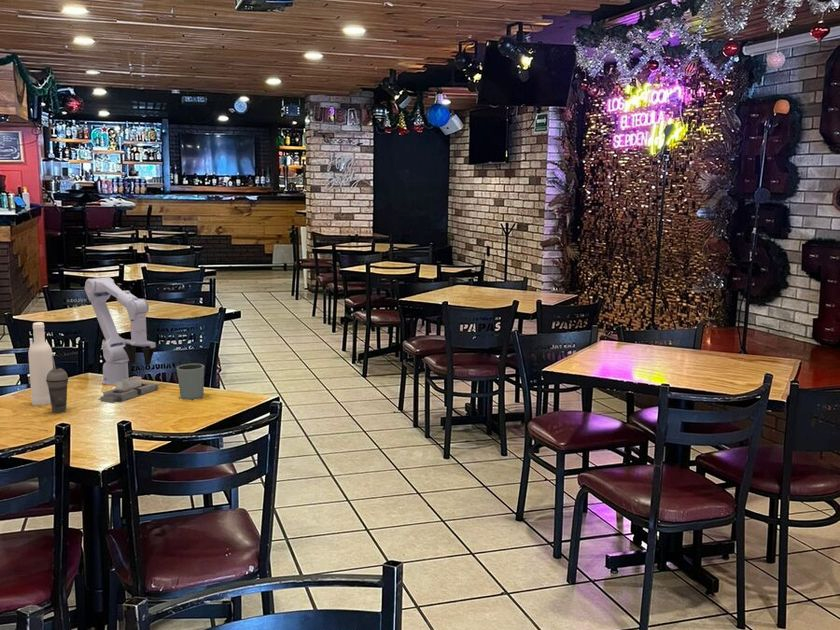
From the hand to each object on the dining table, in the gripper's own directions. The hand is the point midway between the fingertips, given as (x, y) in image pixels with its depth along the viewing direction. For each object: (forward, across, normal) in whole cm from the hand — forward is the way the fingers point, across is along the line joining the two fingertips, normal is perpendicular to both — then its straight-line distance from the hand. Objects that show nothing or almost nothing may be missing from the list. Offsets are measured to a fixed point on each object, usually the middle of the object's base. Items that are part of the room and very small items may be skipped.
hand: (140, 364), depth 314 cm
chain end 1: (+9, +3, -16) cm, 19 cm away
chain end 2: (+10, +3, -3) cm, 11 cm away
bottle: (+10, -17, -32) cm, 38 cm away
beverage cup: (+10, -4, -37) cm, 39 cm away
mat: (+10, +3, -10) cm, 14 cm away
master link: (+10, +4, -10) cm, 14 cm away
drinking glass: (+10, +26, -2) cm, 28 cm away
